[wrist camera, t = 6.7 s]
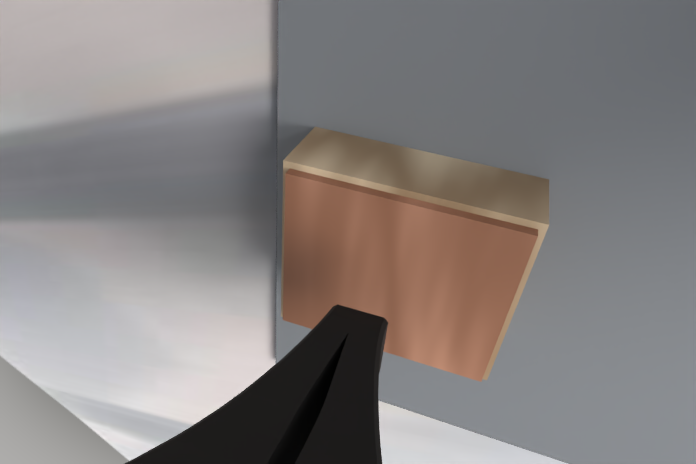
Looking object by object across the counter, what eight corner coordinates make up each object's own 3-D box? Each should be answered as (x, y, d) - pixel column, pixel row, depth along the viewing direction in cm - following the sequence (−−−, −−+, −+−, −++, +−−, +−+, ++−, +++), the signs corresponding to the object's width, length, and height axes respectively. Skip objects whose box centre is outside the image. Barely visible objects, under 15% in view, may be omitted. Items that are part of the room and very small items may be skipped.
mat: (1152, -6, 9) (1174, -2, 9) (678, 490, 20) (680, 500, 19) (285, -114, 13) (278, -114, 12) (279, 359, 23) (275, 366, 23)
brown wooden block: (549, 231, 12) (278, 164, 13) (486, 388, 16) (277, 322, 17) (549, 179, 14) (315, 126, 15) (493, 327, 18) (307, 273, 19)
